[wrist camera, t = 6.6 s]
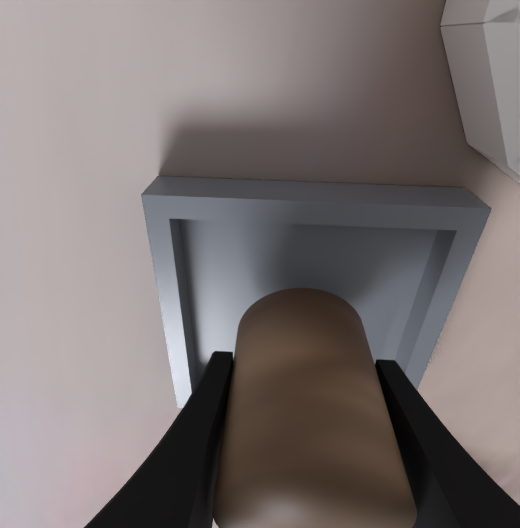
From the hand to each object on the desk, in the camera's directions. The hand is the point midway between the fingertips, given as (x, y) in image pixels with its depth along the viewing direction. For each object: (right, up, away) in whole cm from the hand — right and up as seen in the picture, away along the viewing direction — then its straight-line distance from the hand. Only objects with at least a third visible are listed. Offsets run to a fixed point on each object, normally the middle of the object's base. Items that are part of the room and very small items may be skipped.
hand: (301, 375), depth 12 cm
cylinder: (0, +1, +1) cm, 2 cm away
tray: (0, +2, +3) cm, 4 cm away
